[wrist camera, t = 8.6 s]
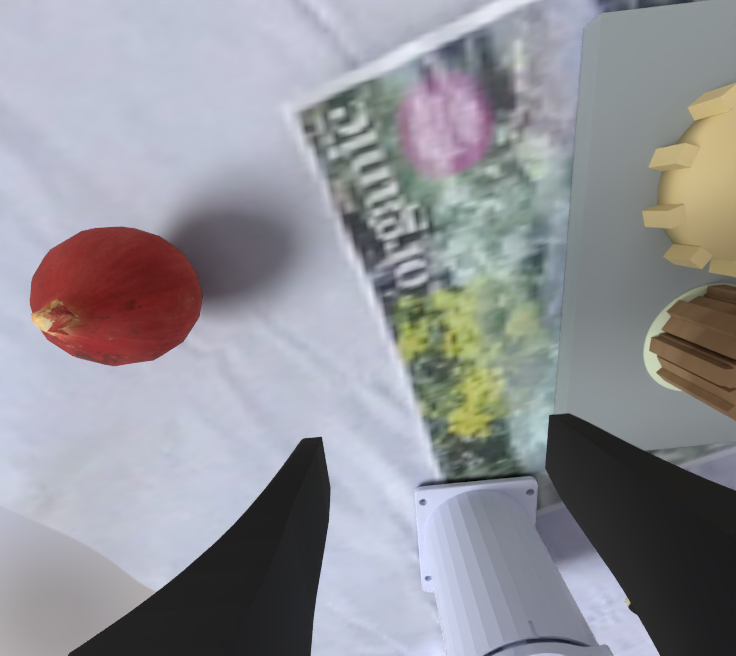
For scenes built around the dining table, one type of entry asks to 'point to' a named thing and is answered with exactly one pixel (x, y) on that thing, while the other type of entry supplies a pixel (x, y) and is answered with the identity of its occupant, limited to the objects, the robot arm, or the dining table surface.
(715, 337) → the walnut gear
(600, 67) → the gear board
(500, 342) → the dining table surface
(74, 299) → the onion
